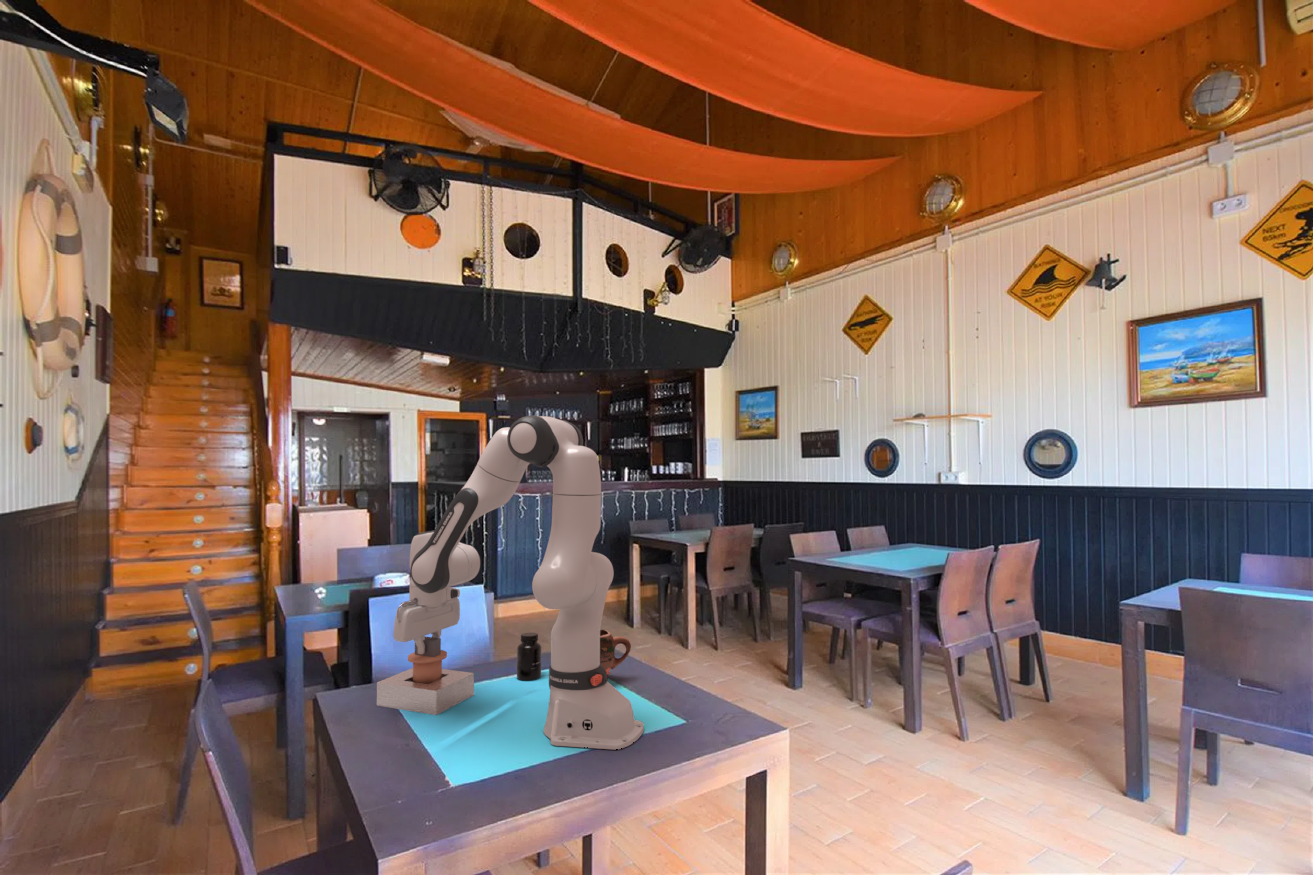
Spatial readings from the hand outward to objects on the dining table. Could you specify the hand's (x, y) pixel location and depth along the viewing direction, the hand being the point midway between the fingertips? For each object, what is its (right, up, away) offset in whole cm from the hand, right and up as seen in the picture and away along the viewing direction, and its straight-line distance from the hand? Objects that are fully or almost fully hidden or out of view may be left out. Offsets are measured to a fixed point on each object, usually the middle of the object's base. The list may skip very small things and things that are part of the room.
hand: (427, 651), depth 160 cm
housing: (0, -14, -1) cm, 14 cm away
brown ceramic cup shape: (+40, -14, +16) cm, 46 cm away
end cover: (0, -7, 0) cm, 7 cm away
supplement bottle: (+21, -15, +21) cm, 33 cm away
